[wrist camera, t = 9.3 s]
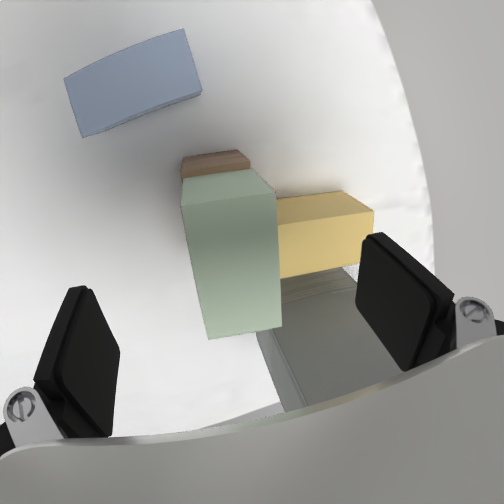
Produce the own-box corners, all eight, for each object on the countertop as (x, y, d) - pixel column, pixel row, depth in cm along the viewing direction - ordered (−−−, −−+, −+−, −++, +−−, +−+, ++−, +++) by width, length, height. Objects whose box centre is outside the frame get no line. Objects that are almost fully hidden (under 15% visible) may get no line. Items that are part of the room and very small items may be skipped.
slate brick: (105, 130, 18) (82, 137, 14) (90, 83, 16) (63, 78, 12) (200, 94, 18) (202, 89, 14) (185, 46, 17) (183, 28, 12)
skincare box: (255, 333, 28) (303, 487, 14) (246, 269, 25) (309, 445, 11) (337, 314, 29) (418, 443, 15) (341, 251, 26) (456, 383, 12)
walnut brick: (183, 157, 20) (180, 171, 16) (237, 149, 21) (249, 161, 16) (198, 247, 23) (201, 281, 19) (246, 238, 24) (260, 271, 20)
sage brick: (183, 178, 16) (180, 206, 12) (252, 168, 16) (275, 192, 12) (202, 286, 19) (208, 339, 15) (261, 276, 20) (281, 326, 15)
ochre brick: (261, 246, 25) (277, 279, 20) (257, 201, 23) (274, 225, 18) (341, 233, 25) (370, 260, 21) (342, 190, 24) (374, 211, 19)
